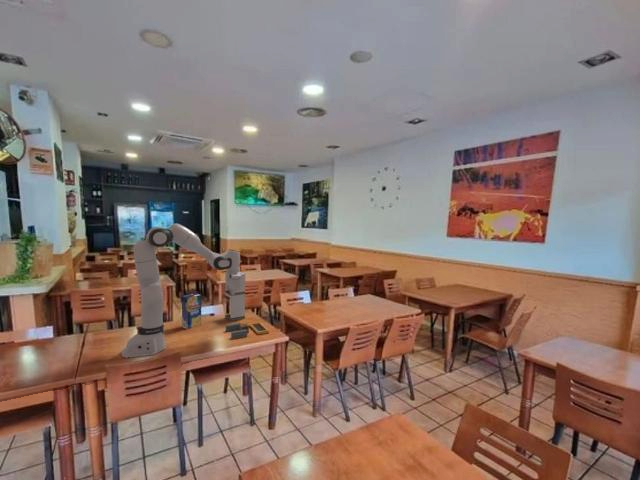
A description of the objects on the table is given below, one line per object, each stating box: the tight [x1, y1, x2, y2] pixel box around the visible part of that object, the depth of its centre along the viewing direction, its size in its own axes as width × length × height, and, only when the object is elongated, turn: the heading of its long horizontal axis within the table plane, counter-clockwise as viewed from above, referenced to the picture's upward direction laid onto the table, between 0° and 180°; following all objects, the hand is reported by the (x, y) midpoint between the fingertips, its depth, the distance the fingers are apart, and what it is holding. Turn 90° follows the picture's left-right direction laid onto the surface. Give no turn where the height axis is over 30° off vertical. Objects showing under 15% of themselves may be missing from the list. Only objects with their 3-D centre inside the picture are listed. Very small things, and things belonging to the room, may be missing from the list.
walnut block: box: [238, 323, 250, 334], centre depth 213 cm, size 5×5×5 cm
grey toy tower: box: [224, 271, 246, 322], centre depth 241 cm, size 11×11×35 cm
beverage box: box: [181, 293, 202, 330], centre depth 221 cm, size 7×11×22 cm, turn 148°
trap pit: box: [249, 321, 270, 336], centre depth 219 cm, size 8×18×2 cm, turn 31°
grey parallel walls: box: [225, 322, 248, 340], centre depth 210 cm, size 10×16×4 cm, turn 31°
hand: (232, 294), depth 207 cm, fingers closed
